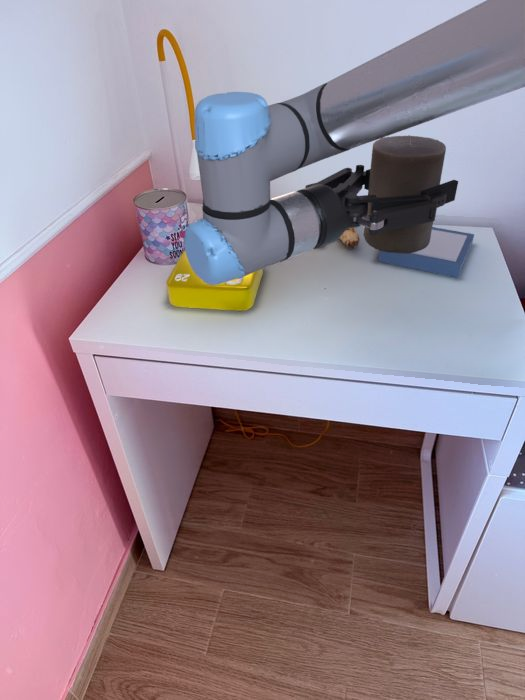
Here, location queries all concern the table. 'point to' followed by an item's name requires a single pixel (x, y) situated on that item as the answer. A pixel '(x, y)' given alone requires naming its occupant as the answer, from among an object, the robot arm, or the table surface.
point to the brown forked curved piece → (350, 238)
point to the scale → (436, 253)
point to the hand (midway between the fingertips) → (425, 179)
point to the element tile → (210, 289)
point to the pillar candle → (404, 185)
